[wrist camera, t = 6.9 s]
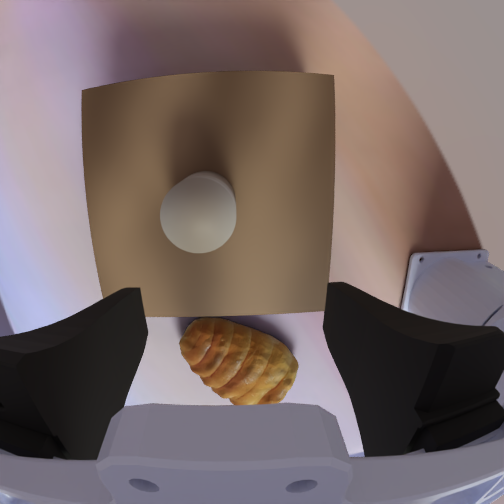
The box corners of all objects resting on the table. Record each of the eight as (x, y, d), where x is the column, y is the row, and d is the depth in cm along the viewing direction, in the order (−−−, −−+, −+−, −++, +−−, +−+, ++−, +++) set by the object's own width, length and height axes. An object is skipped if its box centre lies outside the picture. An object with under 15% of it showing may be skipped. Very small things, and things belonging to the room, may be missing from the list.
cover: (311, 90, 18) (359, 58, 10) (308, 277, 22) (343, 345, 14) (113, 100, 17) (47, 80, 10) (129, 282, 22) (86, 349, 14)
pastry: (166, 349, 25) (158, 379, 21) (211, 292, 23) (208, 318, 19) (255, 396, 27) (258, 426, 23) (304, 349, 25) (314, 378, 22)
